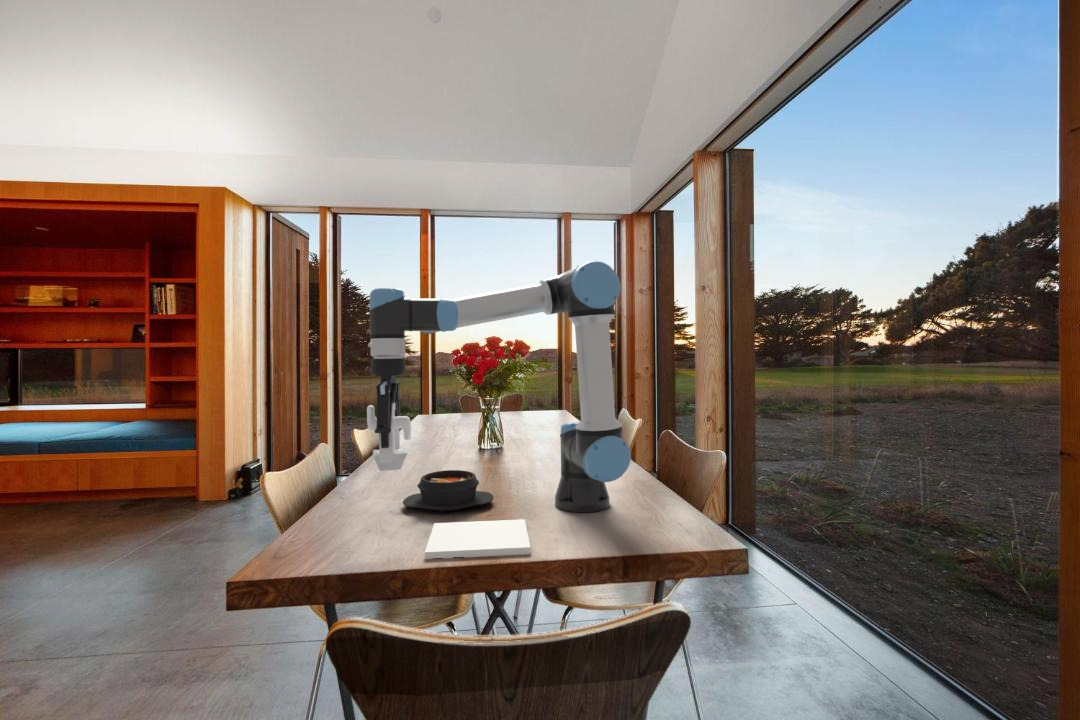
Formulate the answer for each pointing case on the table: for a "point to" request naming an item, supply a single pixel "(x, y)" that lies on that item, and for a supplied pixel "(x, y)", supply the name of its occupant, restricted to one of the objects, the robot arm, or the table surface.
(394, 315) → the robot arm
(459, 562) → the table surface
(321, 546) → the table surface
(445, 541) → the board
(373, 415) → the figurine
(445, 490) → the casserole
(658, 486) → the table surface
